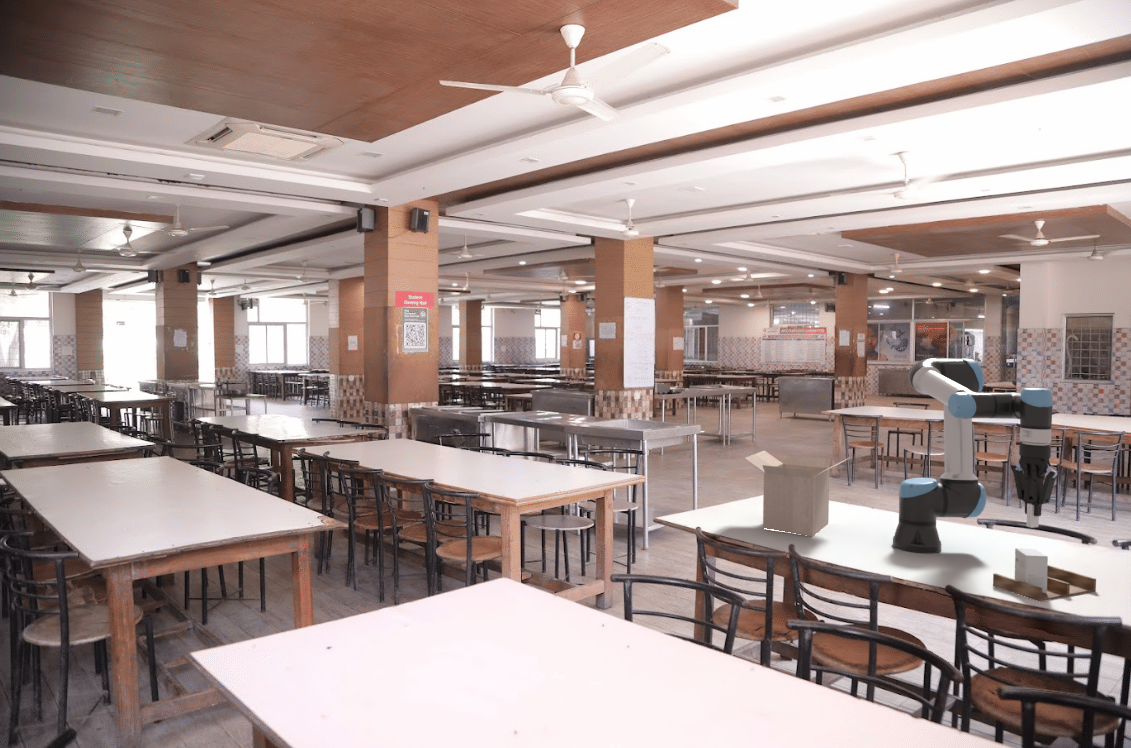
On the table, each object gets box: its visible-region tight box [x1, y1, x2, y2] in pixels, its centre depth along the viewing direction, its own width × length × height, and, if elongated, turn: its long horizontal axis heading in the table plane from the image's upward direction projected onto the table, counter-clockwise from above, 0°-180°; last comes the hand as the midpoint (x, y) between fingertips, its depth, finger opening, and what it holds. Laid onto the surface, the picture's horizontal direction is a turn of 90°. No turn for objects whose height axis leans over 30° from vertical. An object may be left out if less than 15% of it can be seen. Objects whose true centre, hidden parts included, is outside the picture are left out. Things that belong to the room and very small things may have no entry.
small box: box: [1014, 547, 1049, 593], centre depth 213 cm, size 8×6×10 cm
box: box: [743, 450, 851, 538], centre depth 286 cm, size 33×31×26 cm
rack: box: [992, 564, 1097, 602], centre depth 216 cm, size 14×23×4 cm, turn 112°
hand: (1032, 526), depth 213 cm, fingers closed
